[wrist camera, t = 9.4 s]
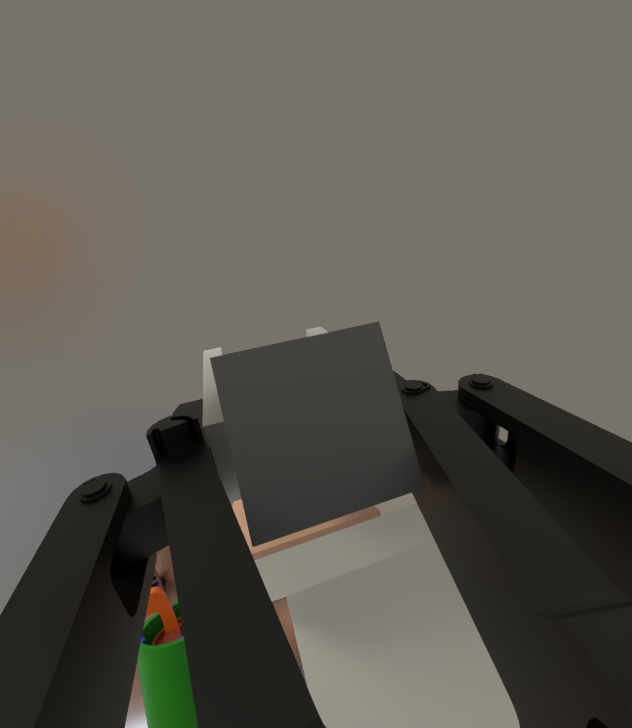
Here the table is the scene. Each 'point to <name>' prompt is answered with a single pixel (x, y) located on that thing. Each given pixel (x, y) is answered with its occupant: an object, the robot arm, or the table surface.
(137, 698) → the table surface
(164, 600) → the motor
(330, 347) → the bar
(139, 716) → the table surface
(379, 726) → the stand
